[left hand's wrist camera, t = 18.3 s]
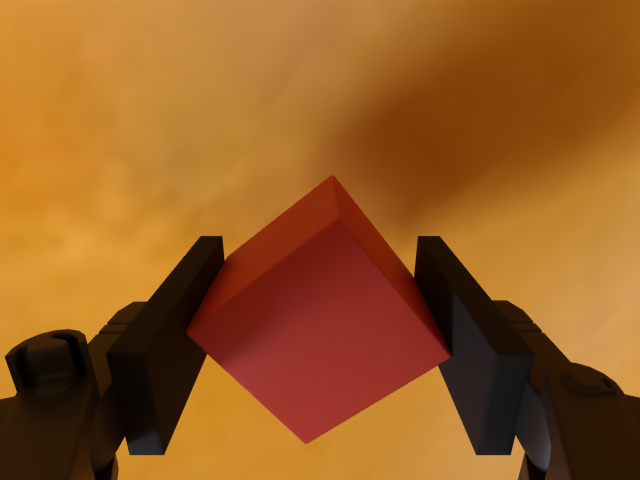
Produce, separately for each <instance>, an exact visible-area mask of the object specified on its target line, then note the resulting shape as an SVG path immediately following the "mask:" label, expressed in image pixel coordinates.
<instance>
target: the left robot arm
mask: <svg viewBox="0 0 640 480" xmlns="http://www.w3.org/2000/svg"><path fill="white" fill-rule="evenodd" d="M224 262H225V260H224V250H223V239H222V236H200V238H199V239H198V240H197V241H196V243H195V244H194V245H193V246H192V248H191V249H190V250H189V251H188V252H187V254H186V255H185V256H184V257H183V259H182V260H181V261H180V262H179V263H178V265H177V266H176V267H175V268H174V270H173V271H172V272H171V273H170V274H169V276H168V277H167V278H166V279H165V281H164V282H163V283H162V284H161V285H160V287H159V288H158V289H157V290H156V292H155V293H154V294H153V295H152V297H151V298H150V299H149V300H148V301H147V302H132V303H131V304H129V305H127V306H126V307H124V308H122V309H121V310H119V311H118V312H117V313H116V314H115V315H114V316H113V317H112V318H111V319H110V320H109V321H108V324H107V325H105V326H104V327H103V328H102V329H101V330H100V331H99V334H97V335H96V336H95V337H94V338H93V339H92V340H91V341H90V342H89V343H88V344H87V341H86V337H85V335H84V334H83V333H81V332H80V331H77V330H71V329H65V330H54V331H50V332H46V333H42V334H39V335H37V336H34V337H32V338H29V339H27V340H25V341H23V342H22V343H20V344H18V345H17V346H15V347H14V348H12V349H11V350H10V352H9V353H8V354H7V355H6V356H5V359H6V362H7V365H8V368H9V371H10V373H11V376H12V379H13V382H14V385H15V388H16V390H17V393H16V395H15V396H14V397H10V398H5V399H0V480H117V478H118V470H119V469H118V462H117V458H116V454H115V453H116V451H117V450H118V448H119V446H120V444H121V442H122V441H123V439H124V437H126V441H127V446H128V450H129V454H130V455H164V454H165V451H166V449H167V447H168V444H169V442H170V440H171V437H172V435H173V433H174V430H175V428H176V426H177V423H178V421H179V419H180V416H181V414H182V412H183V409H184V407H185V405H186V402H187V400H188V398H189V395H190V393H191V391H192V388H193V386H194V384H195V381H196V379H197V377H198V374H199V372H200V370H201V367H202V365H203V363H204V360H205V358H206V355H207V353H206V352H205V351H204V350H203V349H202V348H201V347H200V346H199V345H197V344H196V343H195V342H194V341H193V340H192V339H191V338H190V337H189V336H188V335H187V334H186V329H187V328H188V326H189V324H190V322H191V321H192V319H193V317H194V315H195V313H196V312H197V310H198V308H199V306H200V304H201V303H202V301H203V299H204V297H205V296H206V294H207V292H208V290H209V288H210V287H211V285H212V283H213V281H214V280H215V278H216V276H217V274H218V272H219V271H220V269H221V267H222V265H223V264H224ZM414 279H415V281H416V283H417V285H418V287H419V289H420V291H421V293H422V295H423V297H424V299H425V301H426V303H427V305H428V307H429V309H430V312H431V314H432V316H433V318H434V320H435V322H436V324H437V326H438V328H439V330H440V332H441V334H442V336H443V338H444V340H445V342H446V344H447V346H448V348H449V350H450V352H451V355H452V356H451V358H449V359H448V360H446V361H444V362H443V363H441V364H439V365H438V367H439V369H440V371H441V374H442V376H443V378H444V381H445V383H446V385H447V388H448V390H449V392H450V395H451V397H452V399H453V402H454V404H455V406H456V409H457V411H458V413H459V416H460V418H461V420H462V423H463V425H464V427H465V430H466V432H467V434H468V437H469V439H470V441H471V444H472V446H473V448H474V451H475V453H476V455H511V451H512V447H513V443H514V439H515V435H516V436H517V438H518V440H519V442H520V443H521V445H522V447H523V449H524V450H525V454H524V458H523V462H522V466H521V470H520V474H519V477H518V480H640V398H639V397H634V396H630V395H626V394H624V393H623V391H622V390H621V388H620V387H619V386H618V385H617V383H616V382H614V381H613V380H612V379H610V378H609V377H608V376H606V375H605V374H603V373H601V372H599V371H597V370H595V369H593V368H591V367H588V366H585V365H581V364H578V363H572V362H570V361H569V360H568V359H567V357H566V356H565V355H564V354H563V353H562V352H561V351H560V350H559V349H558V348H557V347H556V345H555V344H554V343H553V342H552V341H551V340H550V339H549V338H548V337H547V336H546V335H545V334H544V333H542V330H541V329H540V328H539V327H538V326H537V325H536V324H535V323H533V321H532V319H531V318H530V317H529V316H528V315H527V314H526V313H525V312H524V311H523V310H522V309H520V308H519V307H517V306H515V305H514V304H512V303H510V302H508V301H507V300H491V299H490V297H489V296H488V295H487V294H486V292H485V291H484V290H483V289H482V288H481V286H480V285H479V284H478V283H477V281H476V280H475V279H474V278H473V277H472V275H471V274H470V273H469V272H468V270H467V269H466V268H465V267H464V266H463V264H462V263H461V262H460V261H459V259H458V258H457V257H456V256H455V255H454V253H453V252H452V251H451V250H450V248H449V247H448V246H447V245H446V243H445V242H444V241H443V240H442V239H441V237H440V236H418V242H417V252H416V263H415V273H414Z"/></svg>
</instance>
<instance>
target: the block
mask: <svg viewBox="0 0 640 480" xmlns="http://www.w3.org/2000/svg"><path fill="white" fill-rule="evenodd" d="M186 334H187V335H188V336H189V337H190V338H191V339H192V340H193V341H194V342H195V343H196V344H197V345H199V346H200V347H201V348H202V349H203V350H204V351H205V352H206V353H207V354H208V355H209V356H210V357H211V358H213V359H214V360H215V361H216V362H217V363H218V364H219V365H220V366H221V367H222V368H223V369H224V370H226V371H227V372H228V373H229V374H230V375H231V376H232V377H233V378H234V379H235V380H236V381H237V382H239V383H240V384H241V385H242V386H243V387H244V388H245V389H246V390H247V391H248V392H249V393H250V394H252V395H253V396H254V397H255V398H256V399H257V400H258V401H259V402H260V403H261V404H262V405H263V406H265V407H266V408H267V409H268V410H269V411H270V412H271V413H272V414H273V415H274V416H275V417H276V418H278V419H279V420H280V421H281V422H282V423H283V424H284V425H285V426H286V427H287V428H288V429H289V430H291V431H292V432H293V433H294V434H295V435H296V436H297V437H298V438H299V439H300V440H301V441H302V442H303V443H305V444H307V443H309V442H311V441H312V440H314V439H316V438H317V437H319V436H321V435H322V434H324V433H326V432H327V431H329V430H331V429H332V428H334V427H336V426H337V425H339V424H341V423H342V422H344V421H346V420H347V419H349V418H351V417H352V416H354V415H356V414H357V413H359V412H361V411H362V410H364V409H366V408H367V407H369V406H371V405H372V404H374V403H376V402H377V401H379V400H381V399H382V398H384V397H386V396H388V395H389V394H391V393H393V392H394V391H396V390H398V389H399V388H401V387H403V386H404V385H406V384H408V383H409V382H411V381H413V380H414V379H416V378H418V377H419V376H421V375H423V374H424V373H426V372H428V371H429V370H431V369H433V368H434V367H436V366H438V365H439V364H441V363H443V362H444V361H446V360H448V359H449V358H451V356H452V355H451V352H450V350H449V348H448V346H447V344H446V342H445V340H444V338H443V336H442V334H441V332H440V330H439V328H438V326H437V324H436V322H435V320H434V318H433V316H432V314H431V312H430V309H429V307H428V305H427V303H426V301H425V299H424V297H423V295H422V293H421V291H420V289H419V287H418V285H417V283H416V281H415V279H414V277H413V275H412V274H411V273H410V271H409V270H408V269H407V268H406V266H405V265H404V264H403V263H402V261H401V260H400V259H399V257H398V256H397V255H396V254H395V252H394V251H393V250H392V249H391V247H390V246H389V245H388V243H387V242H386V241H385V240H384V238H383V237H382V236H381V235H380V233H379V232H378V231H377V229H376V228H375V227H374V226H373V224H372V223H371V222H370V221H369V219H368V218H367V217H366V216H365V214H364V213H363V212H362V210H361V209H360V208H359V207H358V205H357V204H356V203H355V202H354V200H353V199H352V198H351V196H350V195H349V194H348V193H347V191H346V190H345V189H344V188H343V186H342V185H341V184H340V183H339V181H338V180H337V179H336V177H335V176H333V175H332V176H330V177H329V178H327V179H326V180H325V181H324V182H322V183H321V184H320V185H318V186H317V187H316V188H315V189H313V190H312V191H311V192H310V193H308V194H307V195H306V196H304V197H303V198H302V199H301V200H299V201H298V202H297V203H295V204H294V205H293V206H292V207H290V208H289V209H288V210H287V211H285V212H284V213H283V214H281V215H280V216H279V217H278V218H276V219H275V220H274V221H272V222H271V223H270V224H269V225H267V226H266V227H265V228H264V229H262V230H261V231H260V232H258V233H257V234H256V235H255V236H253V237H252V238H251V239H249V240H248V241H247V242H246V243H244V244H243V245H242V246H241V247H239V248H238V249H237V250H235V251H234V252H233V253H232V254H230V255H229V256H228V257H227V258H226V260H225V262H224V264H223V265H222V267H221V269H220V271H219V272H218V274H217V276H216V278H215V280H214V281H213V283H212V285H211V287H210V288H209V290H208V292H207V294H206V296H205V297H204V299H203V301H202V303H201V304H200V306H199V308H198V310H197V312H196V313H195V315H194V317H193V319H192V321H191V322H190V324H189V326H188V328H187V329H186Z"/></svg>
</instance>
